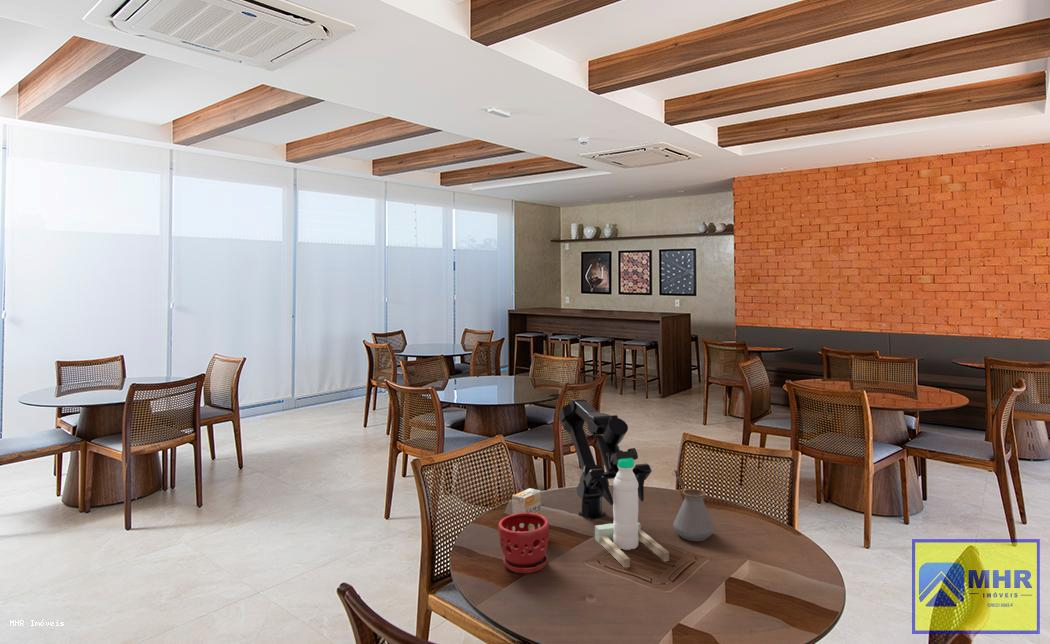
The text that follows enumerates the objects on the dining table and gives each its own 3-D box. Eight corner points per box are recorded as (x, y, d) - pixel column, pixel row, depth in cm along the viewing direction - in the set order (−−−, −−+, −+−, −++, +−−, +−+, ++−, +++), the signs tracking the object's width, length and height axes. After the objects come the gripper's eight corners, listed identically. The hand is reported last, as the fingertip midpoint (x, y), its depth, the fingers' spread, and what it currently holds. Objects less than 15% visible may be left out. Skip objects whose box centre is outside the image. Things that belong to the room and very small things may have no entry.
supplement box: (525, 543, 170) (524, 498, 169) (512, 539, 173) (511, 494, 172) (542, 533, 177) (541, 490, 176) (529, 529, 180) (528, 487, 179)
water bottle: (638, 552, 164) (638, 462, 162) (612, 550, 165) (612, 461, 164) (638, 541, 171) (638, 455, 169) (613, 539, 172) (613, 454, 171)
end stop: (595, 539, 172) (594, 525, 172) (635, 533, 176) (635, 520, 176) (599, 543, 170) (599, 529, 169) (640, 537, 173) (640, 524, 173)
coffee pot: (721, 543, 169) (721, 490, 168) (681, 545, 168) (682, 492, 167) (692, 514, 190) (692, 468, 189) (657, 516, 189) (657, 469, 188)
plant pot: (520, 550, 166) (520, 508, 165) (559, 563, 157) (558, 519, 157) (488, 567, 156) (488, 522, 155) (527, 583, 147) (527, 535, 147)
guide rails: (599, 543, 170) (599, 534, 169) (640, 537, 173) (640, 529, 173) (624, 568, 154) (624, 559, 154) (669, 561, 158) (669, 552, 158)
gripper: (588, 441, 167) (605, 492, 158) (648, 436, 173) (668, 485, 163) (578, 461, 175) (593, 511, 166) (636, 455, 181) (653, 503, 171)
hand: (627, 502), depth 166 cm, fingers open, 9 cm apart
